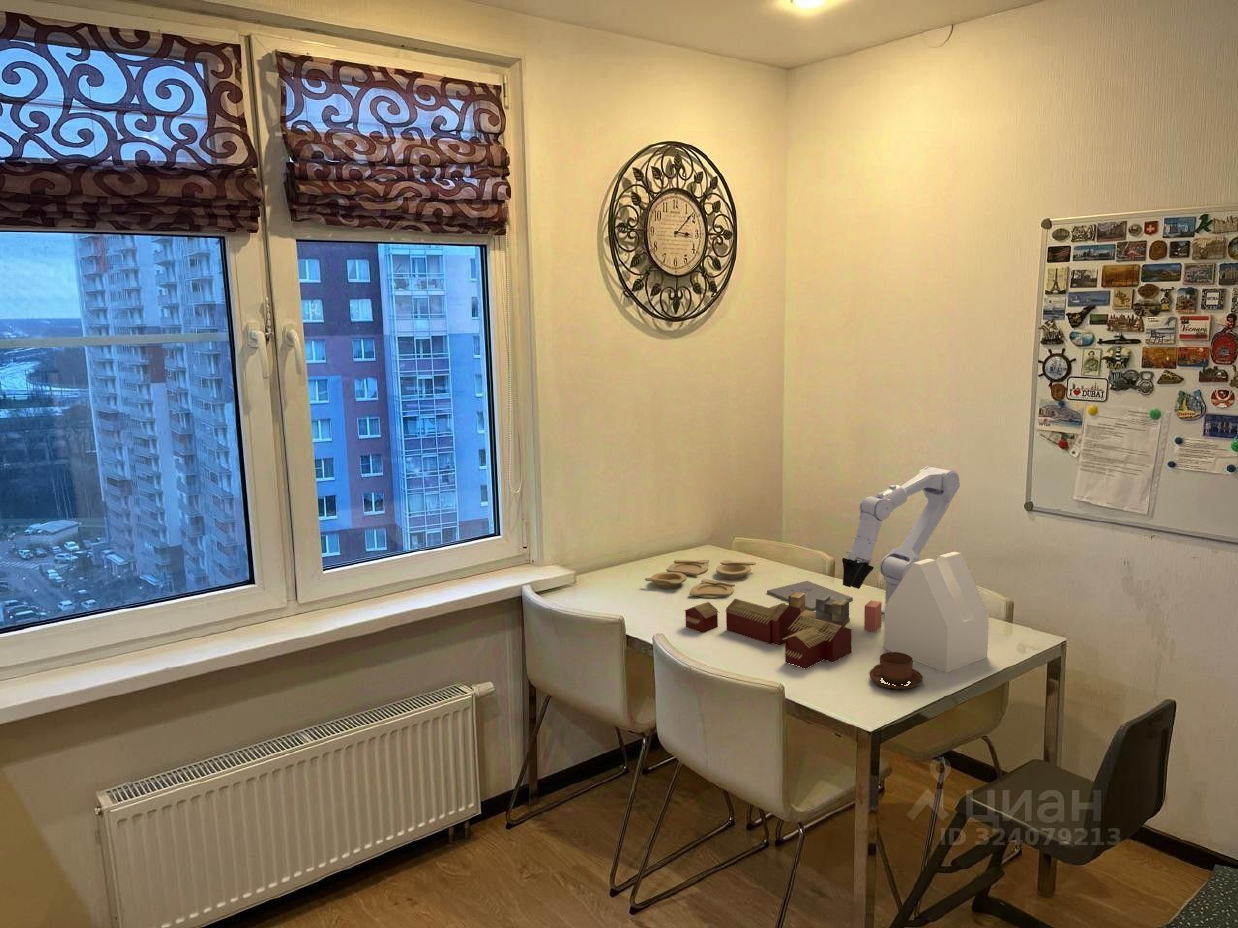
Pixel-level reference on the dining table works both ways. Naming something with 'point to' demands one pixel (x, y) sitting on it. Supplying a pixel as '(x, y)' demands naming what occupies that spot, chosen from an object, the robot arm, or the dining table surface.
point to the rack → (823, 608)
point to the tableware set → (702, 590)
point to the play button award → (807, 593)
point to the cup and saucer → (896, 671)
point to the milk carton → (938, 615)
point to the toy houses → (778, 630)
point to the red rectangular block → (872, 616)
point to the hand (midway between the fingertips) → (850, 587)
